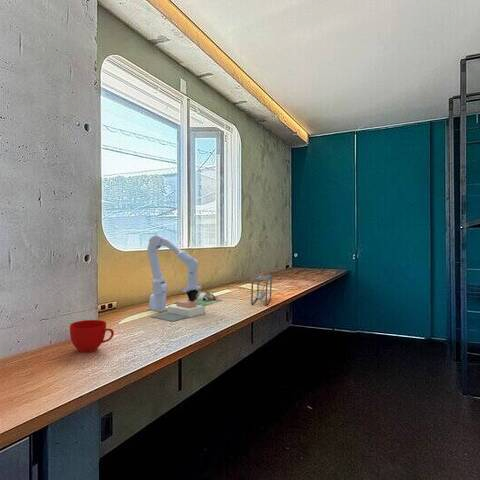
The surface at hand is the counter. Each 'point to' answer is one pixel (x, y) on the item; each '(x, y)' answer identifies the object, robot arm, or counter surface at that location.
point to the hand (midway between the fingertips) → (191, 303)
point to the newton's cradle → (262, 294)
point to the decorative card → (205, 298)
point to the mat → (169, 317)
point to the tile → (186, 304)
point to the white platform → (186, 310)
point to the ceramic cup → (88, 334)
